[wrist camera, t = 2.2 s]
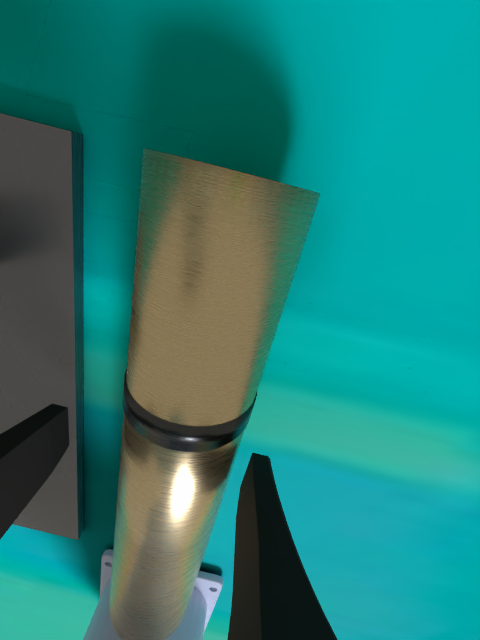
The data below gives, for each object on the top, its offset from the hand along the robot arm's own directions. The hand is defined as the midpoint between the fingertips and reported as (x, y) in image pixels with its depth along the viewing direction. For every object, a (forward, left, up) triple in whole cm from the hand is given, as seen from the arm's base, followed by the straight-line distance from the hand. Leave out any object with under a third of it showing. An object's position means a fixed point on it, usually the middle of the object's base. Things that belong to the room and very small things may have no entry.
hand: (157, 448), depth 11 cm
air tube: (-1, 0, -3) cm, 3 cm away
